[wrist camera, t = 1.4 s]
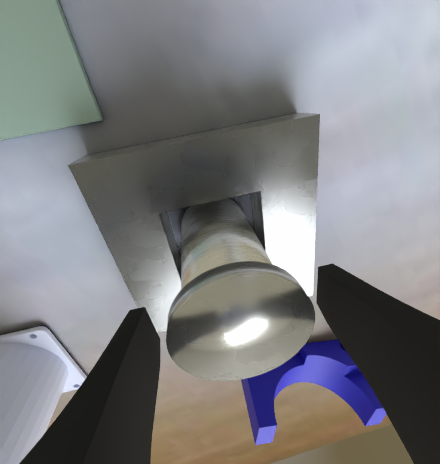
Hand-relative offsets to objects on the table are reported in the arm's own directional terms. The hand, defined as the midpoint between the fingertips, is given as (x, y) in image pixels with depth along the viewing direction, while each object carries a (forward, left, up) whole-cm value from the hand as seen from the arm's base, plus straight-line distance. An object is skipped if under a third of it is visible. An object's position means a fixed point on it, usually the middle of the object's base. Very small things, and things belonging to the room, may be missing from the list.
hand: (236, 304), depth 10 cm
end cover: (0, 0, -7) cm, 7 cm away
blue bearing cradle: (+6, -18, -8) cm, 20 cm away
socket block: (0, 0, -7) cm, 7 cm away
